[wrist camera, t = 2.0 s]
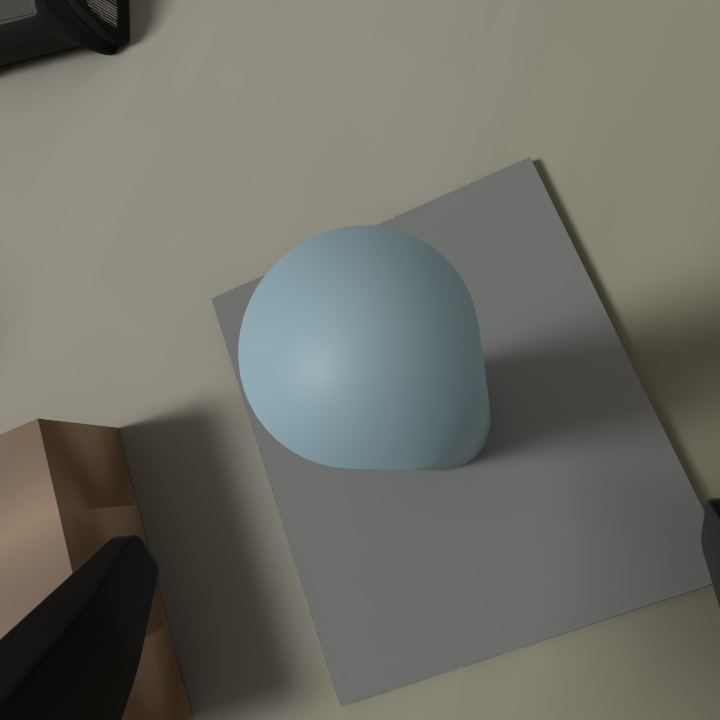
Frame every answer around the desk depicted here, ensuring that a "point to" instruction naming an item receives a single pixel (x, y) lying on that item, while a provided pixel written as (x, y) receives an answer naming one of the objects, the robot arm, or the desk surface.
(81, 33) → the electric trimmer
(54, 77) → the desk surface
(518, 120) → the desk surface
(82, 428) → the hole block
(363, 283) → the peg
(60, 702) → the robot arm
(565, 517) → the mat
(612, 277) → the desk surface
